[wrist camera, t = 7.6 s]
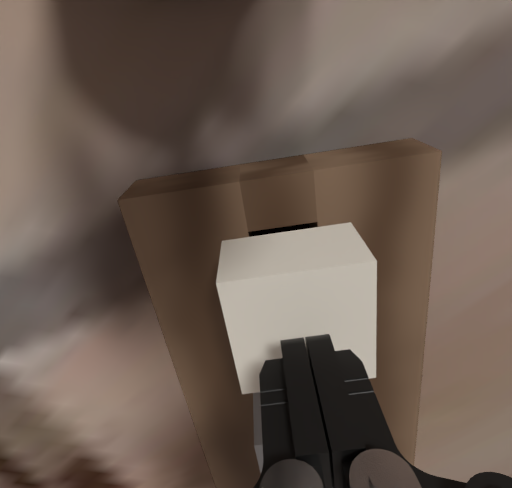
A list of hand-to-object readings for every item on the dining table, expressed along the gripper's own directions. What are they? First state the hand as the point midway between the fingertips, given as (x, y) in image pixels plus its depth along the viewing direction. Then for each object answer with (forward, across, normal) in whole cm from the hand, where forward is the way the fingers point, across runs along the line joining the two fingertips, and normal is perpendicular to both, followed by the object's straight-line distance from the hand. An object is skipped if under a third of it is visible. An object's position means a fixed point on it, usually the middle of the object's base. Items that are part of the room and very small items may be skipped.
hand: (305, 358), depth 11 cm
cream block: (+7, 0, 0) cm, 7 cm away
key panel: (+10, 0, +8) cm, 13 cm away
